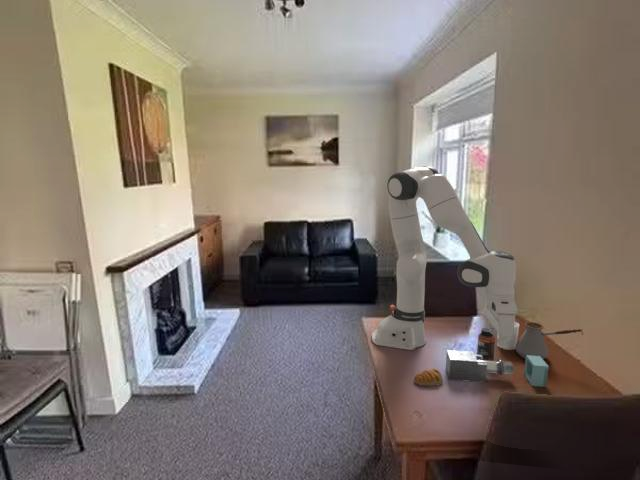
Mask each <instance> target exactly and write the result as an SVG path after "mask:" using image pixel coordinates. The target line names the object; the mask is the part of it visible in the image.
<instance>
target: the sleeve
mask: <svg viewBox="0 0 640 480" xmlns="http://www.w3.org/2000/svg"><path fill="white" fill-rule="evenodd" d="M482 358H483V356H482V355H477V354H475V353H474V351H469V350H468V351H467V350H451V349H447V350H446V357H445V372H446V375H447V377H448V380H449V379H450V380H451V381H462V380H469V381H468V382H475V381H483V382H482V383H486V382H487V381H486V380H487V374H488V373H487V364H486V363H478V360H483V359H482ZM450 380H449V381H450Z"/></svg>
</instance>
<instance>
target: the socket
mask: <svg viewBox="0 0 640 480" xmlns="http://www.w3.org/2000/svg"><path fill="white" fill-rule="evenodd" d="M549 368H550V367H549V365H548V364H547V362H546V361H545V360H544V359H542V358H541V357H540V356H531V355H526V359H525V364H524V372H523V375H524V377H525V378H526V380H528V382H529V384H530V385H531V386H532V387H545V388H547V383H548V377H549V376H548V373H549Z"/></svg>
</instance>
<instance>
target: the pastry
mask: <svg viewBox="0 0 640 480" xmlns="http://www.w3.org/2000/svg"><path fill="white" fill-rule="evenodd" d="M413 382H414V383H415V384H417V385H418V386H420V387H424V386H425V387H431V386H432V385H433V386H437V384H439V385H442V384H443V383H444V379H443V375H442V373H441V372H440V370H438V369H435V368H432V369H425V370H423V371H421V372H420V373H418V374H416V375H415V376H414V380H413Z"/></svg>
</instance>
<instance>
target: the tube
mask: <svg viewBox="0 0 640 480" xmlns="http://www.w3.org/2000/svg"><path fill="white" fill-rule="evenodd" d="M478 363H486V364H487V373H486V374H488V373H490V374H491V373H492V374H497V375H498V376H503V375H513V373H514V366H513V363H512V361H503V359H500V358H499V359H497V360H483V359H482V360H478Z"/></svg>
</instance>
